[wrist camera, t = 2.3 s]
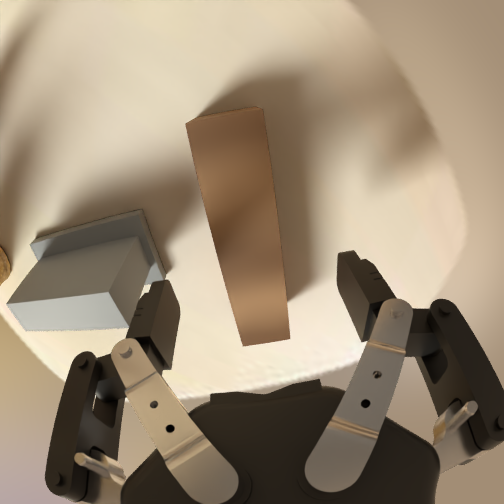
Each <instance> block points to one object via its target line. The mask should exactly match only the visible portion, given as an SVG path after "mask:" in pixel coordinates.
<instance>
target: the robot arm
mask: <svg viewBox="0 0 504 504" xmlns="http://www.w3.org/2000/svg"><path fill="white" fill-rule="evenodd" d="M337 286H338V290H339V293H340V295H341V297H342V299H343V301H344V303H345V306H346V308H347V310H348V312H349V315H350V317H351V319H352V321H353V324H354V326H355V328H356V331H357V333H358V335H359V338H360V340H361V342H364V341H368V340H369V341H368V342H367V344H366V346H365V349H364V351H363V353H362V356H361V358H360V361H359V363H358V365H357V368H356V370H355V372H354V375H353V377H352V379H351V381H350V384H349V386H348V388H347V390H346V391H345V390H342V389H339V388H335V387H329V386H321V382H320V379H316V380H311V381H307V382H301V383H295V384H292V385H289V386H287V387H284V388H282V389H279V390H276V391H274V392H271V393H269V394H253V393H244V392H227V393H214V394H211V395H210V401H209V402H206V403H204V404H201V405H200V406H198V407H196V408H195V409H193V410H192V411H190V412H188V411H187V410H186V409H185V407H184V406H183V404H182V403H181V402H180V401H179V399H178V398H177V397H176V395H175V394H174V392H173V391H172V390H171V388H170V387H169V386H168V384H167V383H166V381H165V380H164V379H163V377H162V371H163V370H171V368H172V361H173V355H174V348H175V342H176V336H177V331H178V325H179V319H180V306H179V303H178V300H177V298H176V296H175V293H174V291H173V288H172V286H171V283H170V281H169V280H161V281H154V282H152V284H151V287H150V290H149V293H144V295H143V296H142V297H141V298H140V299H139V301H138V303H137V306H136V310H135V312H134V315H133V316H134V317H132V320H131V323H130V326H129V329H128V332H127V335H126V338H125V339H123V340H121V341H119V342H118V343H117V344H116V345H115V346H114V347H113V349H112V352H111V354H108V355H105V356H102V357H98V358H96V356H95V355H94V354H93V353H92V352H89V351H86V352H82V353H80V354H79V355H77V356H76V357H75V358H74V360H73V362H72V364H71V367H70V370H69V373H68V376H67V379H66V383H65V386H64V389H63V393H62V396H61V400H60V403H59V407H58V411H57V415H56V419H55V423H54V428H53V432H52V437H51V442H50V447H49V452H48V458H47V465H46V472H45V481H46V485H47V487H48V488H49V490H50V491H51V492H52V493H54V494H55V495H58V496H60V497H63V498H66V499H68V500H70V501H73V502H75V503H78V504H435V493H436V487H437V482H438V479H439V474H440V473H443V472H445V471H447V470H449V469H451V468H453V467H455V466H457V465H465V464H467V463H469V462H471V461H472V460H474V459H476V458H478V457H479V456H481V455H483V454H484V453H486V452H488V451H489V450H491V449H493V448H494V447H496V446H497V445H498V444H500V443H502V442H503V441H504V390H503V388H502V385H501V383H500V381H499V379H498V377H497V375H496V373H495V371H494V369H493V367H492V365H491V363H490V361H489V360H488V358H487V356H486V354H485V352H484V350H483V349H482V347H481V345H480V343H479V342H478V340H477V338H476V337H475V335H474V333H473V332H472V330H471V328H470V327H469V325H468V323H467V322H466V320H465V319H464V317H463V316H462V314H461V313H460V311H459V310H458V308H457V307H456V305H455V304H454V303H452V302H451V301H449V300H446V299H437V300H435V301H433V302H432V304H431V306H430V309H414V308H412V307H411V306H410V304H409V303H407V302H406V301H404V300H402V299H397V298H396V296H395V295H394V293H393V292H392V290H391V289H390V287H389V286H388V284H387V283H386V281H385V280H384V279H383V277H382V275H381V274H380V273H379V271H378V270H377V268H376V267H375V265H374V264H373V263H371V262H370V261H368V260H367V259H362V260H361V259H360V258H359V256H358V255H357V253H356V252H355V251H354V250H352V251H346V252H341V253H338V260H337ZM404 357H415V358H416V360H417V363H418V365H419V368H420V370H421V372H422V375H423V377H424V380H425V382H426V385H427V387H428V390H429V392H430V395H431V397H432V400H433V403H434V406H435V409H436V411H437V414H438V417H439V418H438V419H437V420H436V422H435V424H434V428H433V434H434V441H433V445H431V444H430V443H429V442H427V441H426V440H424V439H422V438H421V437H419V436H417V435H416V434H414V433H412V432H410V431H409V430H407V429H405V428H404V427H402V426H400V425H399V424H397V423H396V422H394V421H392V420H391V419H389V418H388V417H386V413H387V411H388V408H389V405H390V403H391V400H392V397H393V394H394V391H395V388H396V385H397V382H398V379H399V375H400V372H401V368H402V365H403V361H404ZM95 395H96V399H95V404H94V409H93V408H92V407H93V402H94V398H95ZM126 397H127V398H128V400H129V402H130V404H131V406H132V408H133V409H134V411H135V413H136V415H137V416H138V418H139V420H140V421H141V423H142V425H143V427H144V428H145V430H146V432H147V433H148V435H149V436H150V438H151V440H152V441H153V443H154V444H155V446H156V447H157V448H156V449H155V450H154V452H153V453H152V454H151V455H150V456H149V457H148V458H147V459H146V460H145V461H144V462H143V463H142V464H141V465H140V466H139V467H138V468H137V469H136V470H135V471H134V472H133V473H132V474H131V475H130V476H129V477H128V479H127V480H126V476H125V474H124V471H123V468H122V466H121V465H120V464H119V463H118V462H117V459H118V448H119V439H120V430H121V422H122V415H123V408H124V401H125V398H126ZM125 480H126V481H125Z"/></svg>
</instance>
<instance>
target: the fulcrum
mask: <svg viewBox="0 0 504 504" xmlns="http://www.w3.org/2000/svg"><path fill="white" fill-rule="evenodd" d="M30 246H31V248H32V250H33V252H34V254H35V256H36V258H37V260H38V262H37V263H36V265H35V266H34V267H33V268H32V270H31V271H30V272H29V273H28V275H27V276H26V277H25V279H24V280H23V281H22V283H21V284H20V285H19V287H18V288H17V289H16V291H15V292H14V293H13V295H12V296H11V298H10V299H9V301H8V302H7V304H6V305H7V306H8V308H9V309H10V310H11V312H12V313H13V315H14V316H15V318H16V319H17V320H18V322H19V323H20V324H21V326H22V327H23V328H24V330H25V331H77V330H101V329H119V328H129V326H130V323H131V320H132V317H133V315H134V312H135V310H136V306H137V303H138V301H139V298H140V295H141V293H142V290H143V287H144V285H147V284H152V282H154V281H161V280H165V278H166V272H165V270H164V267H163V265H162V262H161V260H160V257H159V255H158V252H157V249H156V247H155V244H154V241H153V238H152V236H151V233H150V230H149V227H148V224H147V222H146V219H145V216H144V213H143V210H142V209H140V210H136V211H132V212H128V213H124V214H120V215H116V216H112V217H108V218H104V219H101V220H97V221H93V222H90V223H86V224H83V225H79V226H76V227H72V228H69V229H66V230H62V231H59V232H56V233H53V234H49V235H46V236H43V237H40V238H37V239H35V240H34V241H33V242H32V243H31V244H30Z"/></svg>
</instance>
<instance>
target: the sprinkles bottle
mask: <svg viewBox="0 0 504 504" xmlns="http://www.w3.org/2000/svg"><path fill="white" fill-rule="evenodd" d="M9 275H10V264H9V261H8V258H7V256H6V254H5V253H4V251H3V249H2V248H1V247H0V286H1V284H2V283H3V282H4V281H5V280H6V279H8V277H9Z"/></svg>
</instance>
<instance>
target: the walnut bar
mask: <svg viewBox="0 0 504 504" xmlns="http://www.w3.org/2000/svg"><path fill="white" fill-rule="evenodd" d="M186 129H187V133H188V138H189V142H190V147H191V151H192V156H193V160H194V164H195V169H196V173H197V177H198V181H199V186H200V190H201V194H202V198H203V202H204V206H205V210H206V214H207V218H208V222H209V226H210V230H211V234H212V237H213V241H214V245H215V249H216V253H217V256H218V260H219V264H220V268H221V271H222V275H223V279H224V282H225V286H226V289H227V293H228V296H229V300H230V303H231V307H232V310H233V314H234V317H235V321H236V324H237V328H238V331H239V334H240V338H241V341H242V344H243V346H249V345H256V344H263V343H269V342H275V341H281V340H287V339H290V330H289V319H288V308H287V297H286V287H285V277H284V268H283V259H282V250H281V241H280V232H279V224H278V215H277V207H276V199H275V191H274V184H273V176H272V169H271V162H270V154H269V147H268V140H267V134H266V127H265V120H264V114H263V109H261V108H258V107H251V108H244V109H238V110H232V111H227V112H221V113H216V114H211V115H206V116H201V117H197V118H195V119H193V120H191V121H189V122H188V123H186Z"/></svg>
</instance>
